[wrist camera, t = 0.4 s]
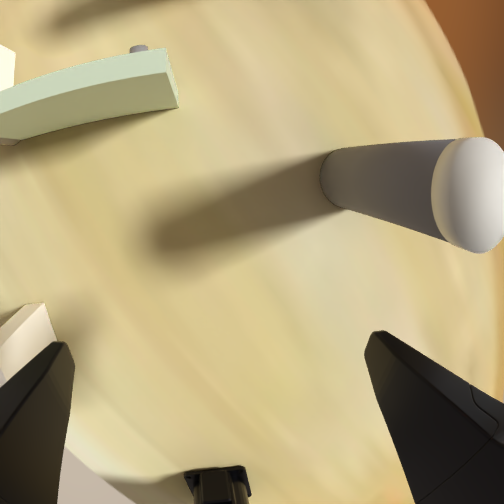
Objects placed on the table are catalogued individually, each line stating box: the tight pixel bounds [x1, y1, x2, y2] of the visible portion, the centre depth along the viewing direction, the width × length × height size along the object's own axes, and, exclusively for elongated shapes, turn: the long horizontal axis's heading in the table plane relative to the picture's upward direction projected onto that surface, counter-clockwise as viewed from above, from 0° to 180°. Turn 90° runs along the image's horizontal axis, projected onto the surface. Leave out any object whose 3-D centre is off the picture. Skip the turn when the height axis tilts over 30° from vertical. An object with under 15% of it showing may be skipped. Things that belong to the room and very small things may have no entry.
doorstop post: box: [320, 137, 504, 254], centre depth 16 cm, size 4×4×13 cm
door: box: [0, 45, 179, 145], centre depth 14 cm, size 14×3×8 cm, turn 94°
